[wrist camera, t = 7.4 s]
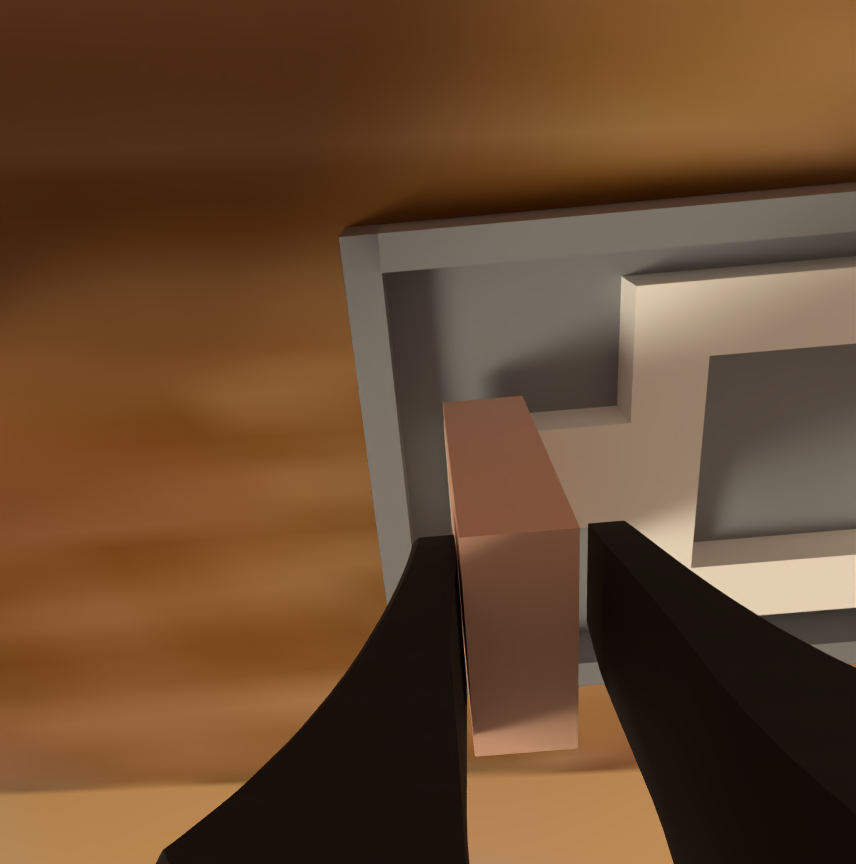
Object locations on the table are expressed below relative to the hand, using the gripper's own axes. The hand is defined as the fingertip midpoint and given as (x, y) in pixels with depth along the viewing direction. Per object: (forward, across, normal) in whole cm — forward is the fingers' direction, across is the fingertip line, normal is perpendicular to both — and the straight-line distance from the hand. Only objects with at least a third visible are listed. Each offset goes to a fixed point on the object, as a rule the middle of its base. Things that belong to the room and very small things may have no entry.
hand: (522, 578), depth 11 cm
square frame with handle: (+4, -5, 0) cm, 6 cm away
